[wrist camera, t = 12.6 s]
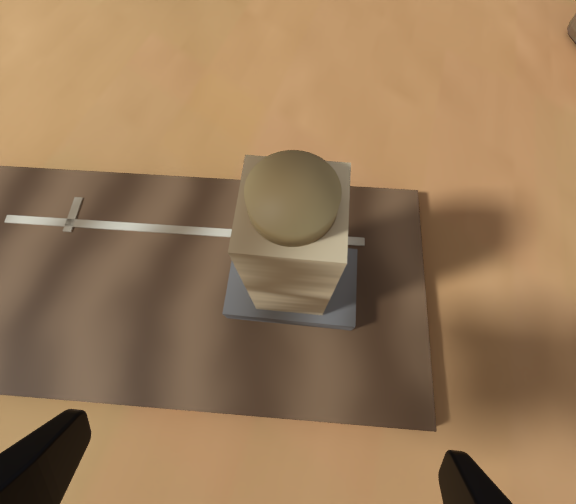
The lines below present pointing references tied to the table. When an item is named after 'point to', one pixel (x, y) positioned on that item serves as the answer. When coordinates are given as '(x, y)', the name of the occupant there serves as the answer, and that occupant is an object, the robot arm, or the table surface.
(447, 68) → the table surface
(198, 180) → the walnut board
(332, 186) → the cube with dome top
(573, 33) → the wooden block
